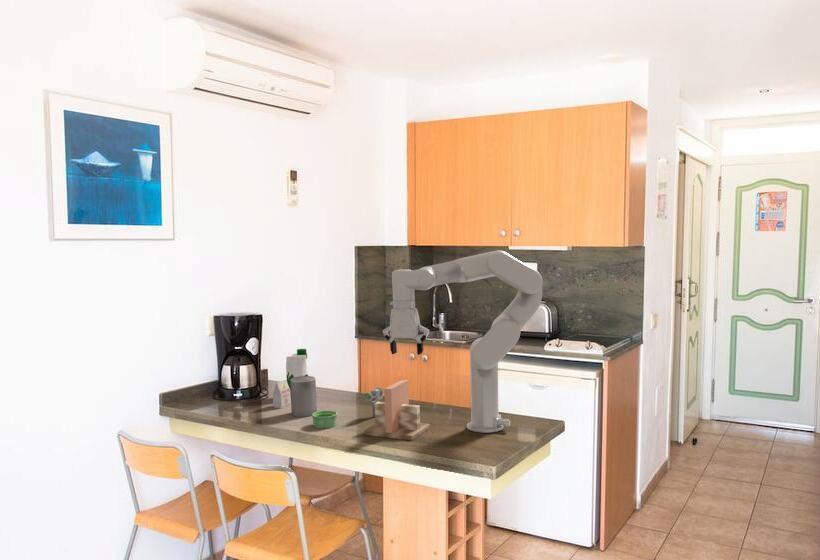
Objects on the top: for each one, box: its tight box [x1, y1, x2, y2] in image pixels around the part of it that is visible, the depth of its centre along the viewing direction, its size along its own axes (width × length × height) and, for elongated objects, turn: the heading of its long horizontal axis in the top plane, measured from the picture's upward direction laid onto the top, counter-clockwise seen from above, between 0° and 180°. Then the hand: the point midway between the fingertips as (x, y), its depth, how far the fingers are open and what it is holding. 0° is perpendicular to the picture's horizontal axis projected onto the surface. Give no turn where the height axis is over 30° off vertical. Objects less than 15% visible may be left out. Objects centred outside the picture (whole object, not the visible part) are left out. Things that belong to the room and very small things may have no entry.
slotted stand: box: [363, 401, 431, 441], centre depth 239 cm, size 18×15×10 cm
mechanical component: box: [364, 387, 384, 418], centre depth 258 cm, size 3×10×10 cm, turn 152°
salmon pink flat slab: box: [383, 379, 410, 433], centre depth 239 cm, size 14×2×15 cm, turn 156°
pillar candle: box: [290, 375, 318, 418], centre depth 265 cm, size 10×10×15 cm
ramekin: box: [311, 410, 338, 429], centre depth 249 cm, size 9×9×4 cm
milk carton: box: [285, 348, 309, 394], centre depth 293 cm, size 9×9×20 cm
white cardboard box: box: [272, 379, 291, 409], centre depth 278 cm, size 4×7×10 cm, turn 155°
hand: (406, 353), depth 241 cm, fingers open, 9 cm apart
